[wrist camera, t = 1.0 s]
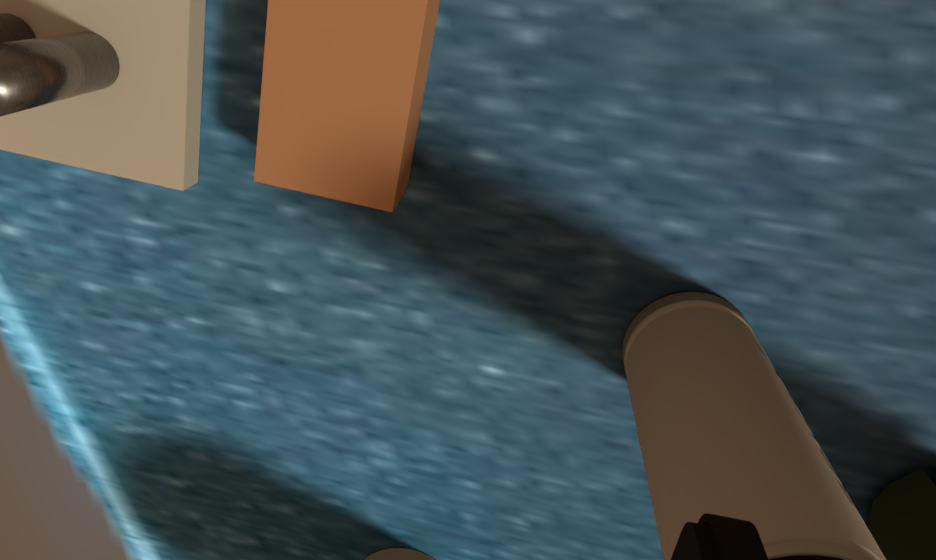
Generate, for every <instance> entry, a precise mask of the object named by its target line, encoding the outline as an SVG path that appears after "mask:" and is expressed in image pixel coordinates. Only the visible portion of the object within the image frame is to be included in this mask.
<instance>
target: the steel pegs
mask: <svg viewBox="0 0 936 560" xmlns="http://www.w3.org/2000/svg"><path fill="white" fill-rule="evenodd" d="M119 70H120V64H119V59H118V55H117V53H116V51H115V49H114V48H113V46H112V45H111V44H110V43H109V42H108V41H107V40H106V39H105V38H104V37H102V36H101V35H99V34H96V33H93V32H78V33H70V34H63V35H56V36H48V37H41V38H36V36H35V34H34V32H33V30H32V29H31V27H30V26H29V25H28V24H27V23H26V22H25V21H24V20H22V19H21V18H19V17H18V16H15V15H13V14H9V13H0V117H1V116H4V115H8V114H12V113H15V112H19V111H23V110H27V109H30V108H34V107H38V106H41V105H45V104H49V103H53V102H56V101H60V100H64V99H67V98H71V97H75V96H79V95H82V94H86V93H90V92H93V91H97V90H101V89H104V88H107V87H109V86H111V85H112V84H113V83H114V82H115V81H116V79H117V77H118V75H119Z"/></svg>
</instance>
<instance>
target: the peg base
mask: <svg viewBox="0 0 936 560" xmlns="http://www.w3.org/2000/svg"><path fill="white" fill-rule="evenodd" d="M205 6H206V0H0V13H9V14H13V15H15V16H18V17H19V18H21V19H22V20H24V21H25V22H26V23H27V24H28V25H29V26H30V27H31V29H32V30H33V32H34V34H35V36H36V38H41V37H48V36H56V35H63V34H70V33H78V32H93V33H96V34H99V35H101V36H102V37H104V38H105V39H106V40H107V41H108V42H109V43H110V44H111V45H112V46H113V48H114V49H115V51H116V53H117V55H118V59H119V64H120V70H119V75H118V77H117V79H116V81H115V82H114V83H113V84H112V85H111V86H109V87H107V88H104V89H101V90H97V91H93V92H90V93H86V94H82V95H79V96H75V97H71V98H67V99H64V100H60V101H56V102H53V103H49V104H45V105H41V106H38V107H34V108H30V109H27V110H23V111H19V112H15V113H12V114H8V115H4V116H1V117H0V150H5V151H9V152H14V153H18V154H22V155H27V156H31V157H36V158H40V159H44V160H49V161H53V162H58V163H62V164H67V165H71V166H75V167H80V168H84V169H89V170H93V171H97V172H102V173H106V174H111V175H115V176H120V177H124V178H128V179H133V180H137V181H142V182H146V183H150V184H155V185H159V186H164V187H168V188H172V189H177V190H181V191H184V190H186V189H187V188H189V187H191V186H192V185H194V184H195V183H197V182H198V167H199V144H200V121H201V98H202V75H203V52H204V29H205Z"/></svg>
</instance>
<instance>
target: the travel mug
mask: <svg viewBox="0 0 936 560" xmlns="http://www.w3.org/2000/svg"><path fill="white" fill-rule="evenodd" d="M622 359H623V363H624V368H625V373H626V378H627V383H628V388H629V393H630V397H631V402H632V407H633V412H634V417H635V422H636V427H637V431H638V436H639V441H640V446H641V451H642V456H643V461H644V465H645V470H646V475H647V480H648V485H649V490H650V495H651V499H652V504H653V509H654V514H655V519H656V524H657V529H658V533H659V538H660V543H661V548H662V553H663V558H664V560H671V557H672V554H673V552H674V549H675V547H676V544H677V541H678V539H679V536H680V533H681V531H682V529H683V527H684V525H685V524H686V523H687V522H693V523H698V521H699V519H700V517H701V516H702V515H703V514H705V513H709V514H715V515H720V516H725V517H730V518H735V519H740V520H745V521H750V522H752V523H753V524H754V525H755V527H756V529H757V530H758V533H759V535H760V538H761V541H762V543H763V546H764V549H765V551H766V554H767V557H768V560H886V558H885V557H884V555H883V553H882V552H881V550H880V548H879V546H878V545H877V543H876V541H875V540H874V538H873V536H872V534H871V533H870V531H869V529H868V528H867V526H866V524H865V522H864V521H863V519H862V517H861V516H860V514H859V512H858V510H857V509H856V507H855V505H854V504H853V502H852V500H851V498H850V497H849V495H848V493H847V492H846V490H845V488H844V486H843V485H842V483H841V481H840V480H839V478H838V476H837V474H836V473H835V471H834V469H833V468H832V466H831V464H830V462H829V461H828V459H827V457H826V456H825V454H824V452H823V450H822V449H821V447H820V445H819V444H818V442H817V440H816V438H815V437H814V435H813V433H812V432H811V430H810V428H809V426H808V425H807V423H806V421H805V420H804V418H803V416H802V414H801V413H800V411H799V409H798V408H797V406H796V404H795V402H794V401H793V399H792V397H791V396H790V394H789V392H788V390H787V389H786V387H785V385H784V384H783V382H782V380H781V378H780V377H779V375H778V373H777V372H776V370H775V368H774V366H773V365H772V363H771V361H770V360H769V358H768V356H767V354H766V353H765V351H764V349H763V348H762V346H761V344H760V342H759V341H758V339H757V337H756V336H755V334H754V332H753V330H752V329H751V327H750V325H749V324H748V322H747V320H746V319H745V317H744V316H743V315H742V313H741V312H740V311H739V310H738V309H737V308H736V307H734V306H733V305H732V304H731V303H729V302H728V301H726V300H724V299H722V298H720V297H717V296H714V295H711V294H708V293H700V292H682V293H677V294H672V295H668V296H666V297H663V298H661V299H658V300H656V301H654V302H653V303H651V304H650V305H648V306H647V307H645V308H644V309H643V310H642V311H641V312H640V313H639V314H638V315H637V316H636V317H635V318H634V319H633V321H632V322H631V324H630V325H629V327H628V329H627V331H626V334H625V336H624V340H623V345H622Z"/></svg>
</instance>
